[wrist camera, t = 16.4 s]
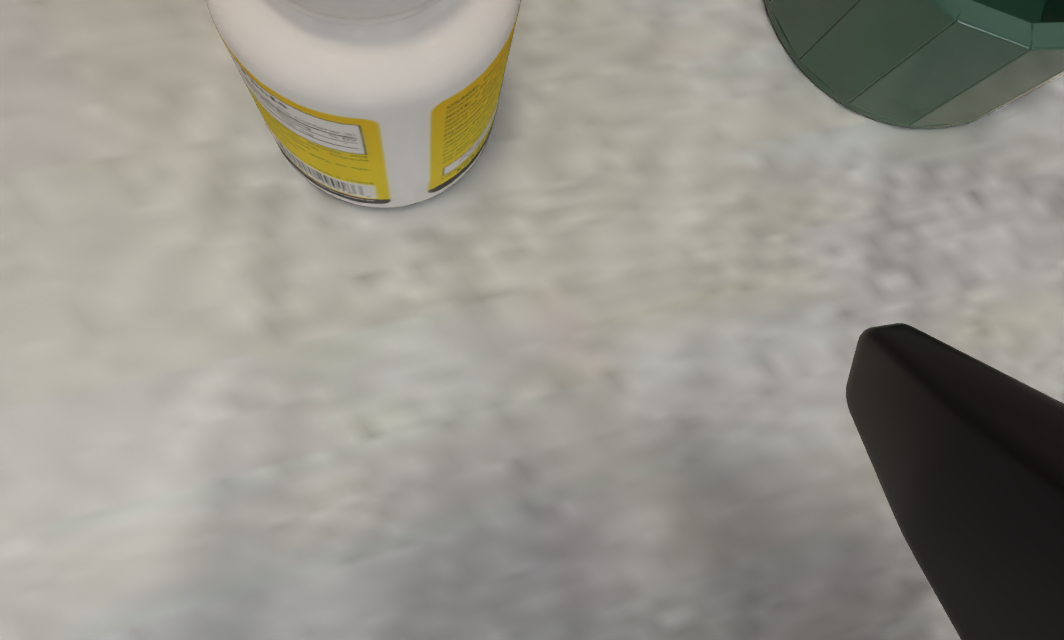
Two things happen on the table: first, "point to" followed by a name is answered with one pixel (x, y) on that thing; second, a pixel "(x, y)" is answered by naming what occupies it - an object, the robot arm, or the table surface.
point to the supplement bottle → (373, 87)
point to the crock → (923, 54)
